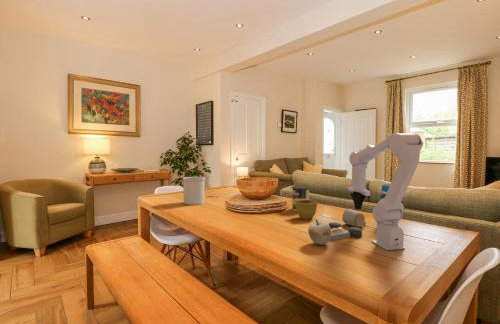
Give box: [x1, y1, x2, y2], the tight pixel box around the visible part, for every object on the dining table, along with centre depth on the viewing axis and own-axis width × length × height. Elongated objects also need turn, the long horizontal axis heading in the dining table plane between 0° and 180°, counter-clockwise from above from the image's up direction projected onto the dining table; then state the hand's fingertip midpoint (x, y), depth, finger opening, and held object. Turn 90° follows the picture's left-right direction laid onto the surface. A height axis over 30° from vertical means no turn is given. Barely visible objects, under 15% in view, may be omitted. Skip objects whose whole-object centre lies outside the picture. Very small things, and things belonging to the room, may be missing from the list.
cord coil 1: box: [328, 222, 342, 229], centre depth 125 cm, size 6×6×3 cm
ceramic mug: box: [341, 208, 367, 228], centre depth 133 cm, size 11×8×8 cm
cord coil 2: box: [347, 226, 363, 239], centre depth 118 cm, size 6×6×3 cm
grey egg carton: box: [330, 226, 351, 241], centre depth 117 cm, size 7×10×4 cm
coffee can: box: [291, 185, 310, 212], centre depth 166 cm, size 10×10×14 cm
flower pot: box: [295, 199, 318, 220], centre depth 147 cm, size 9×9×9 cm
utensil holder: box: [182, 176, 206, 206], centre depth 186 cm, size 15×15×18 cm
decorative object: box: [307, 219, 331, 246], centre depth 107 cm, size 9×9×10 cm
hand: (358, 209), depth 122 cm, fingers closed
